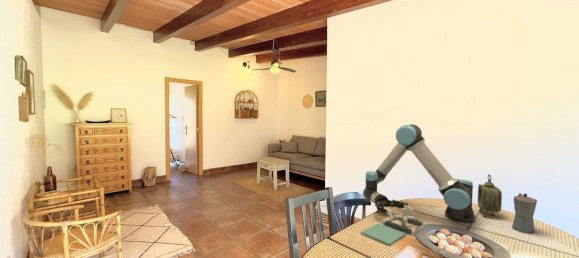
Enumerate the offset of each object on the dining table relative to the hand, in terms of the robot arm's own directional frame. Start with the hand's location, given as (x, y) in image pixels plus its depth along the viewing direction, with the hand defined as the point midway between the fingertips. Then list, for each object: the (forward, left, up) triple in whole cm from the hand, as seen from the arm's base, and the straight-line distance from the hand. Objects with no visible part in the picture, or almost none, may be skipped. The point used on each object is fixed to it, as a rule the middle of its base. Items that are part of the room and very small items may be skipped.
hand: (401, 212), depth 144 cm
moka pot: (-44, -44, -8) cm, 63 cm away
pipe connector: (-1, 0, -8) cm, 8 cm away
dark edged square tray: (-1, -1, -7) cm, 8 cm away
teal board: (+1, +18, -7) cm, 20 cm away
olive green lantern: (-27, -54, -8) cm, 61 cm away
